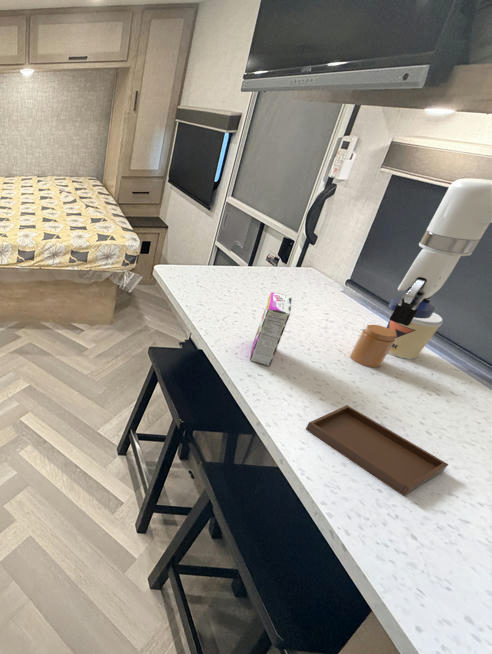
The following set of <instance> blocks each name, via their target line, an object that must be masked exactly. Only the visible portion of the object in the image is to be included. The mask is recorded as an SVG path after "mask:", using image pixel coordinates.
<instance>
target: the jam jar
mask: <svg viewBox="0 0 492 654" xmlns="http://www.w3.org/2000/svg"><path fill="white" fill-rule="evenodd" d="M386 327H387V326H383V325H379V324H368V325H366V328H364V329H362V331H361V333H360V335H359V336H358V339H357V340H356V342H355V344H354V346H353V348H352V350H351V352H350V354H349V357H350V358H351V360H353V361H354V362H356V363H357V364H359V365H361V366H365V367H370V368H380V367H381V366H382V364H383V363H384V361H385V359H386V357H387V356H388V355H389V353H388V352H389V350H390V349H391V347H392V345H393V343H394V342H395V337H396V333H395V332H394V331H392V330H391V329H388V328H386Z"/></svg>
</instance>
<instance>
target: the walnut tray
mask: <svg viewBox="0 0 492 654" xmlns="http://www.w3.org/2000/svg"><path fill="white" fill-rule="evenodd" d="M305 431H307V432H309V433H311V434H312V435H314V436H315V437H316V438H318V439H319V440H321V441H322V442H324V443H325V444H327V445H328V446H330V447H331V448H333V449H334V450H336V451H337V452H339V453H340V454H342V455H343V456H344V457H346V458H347V459H349V460H351V461H352V462H353V463H354V464H356V465H357V466H359V467H360V468H363V469H364V470H365V471H366V472H368V473H369V474H371V475H373V476H374V477H375V478H377V479H378V480H380V481H381V482H383V483H384V484H386V485H387V486H389V487H390V488H391V489H393V490H395V491H396V492H397V493H398V494H401V496H403V497H405V496H406V495H408V494H409V493H412V492H413V491H415V490H416V489H418V488H419V487H421V486H422V485H424V484H426V483H428V482H429V481H430V480H432V479H433V478H435V477H437V476H438V475H440V474H442V473H443V472H444V471H445V470H446V469H447V468H448V466H449V463H447V462H445V461H444V460H442V459H440V458H438V457H437V456H435V455H434V454H432V453H430V452H428V451H427V450H425V449H423V448H421V447H419V446H418V445H416V444H414V443H413V442H411V441H410V440H407V439H406V438H404V437H402V436H401V435H399V434H397V432H395V431H392V430H390V429H389V428H387V427H385V426H384V425H382V424H380V423H379V422H377V421H375V420H373V419H372V418H370V417H369V416H367V415H365V414H363V413H362V412H359V411H358V410H356V409H355V408H353V407H351V406H350V405H347V404H346V405H344V406H342V407H340V408H337V409H335V410H333V411H331V412H328V413H326V414H325V415H322V416H320V417H318V418H315V419H314V420H311V421H309V422H308V424H307V426H306V428H305Z"/></svg>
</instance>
